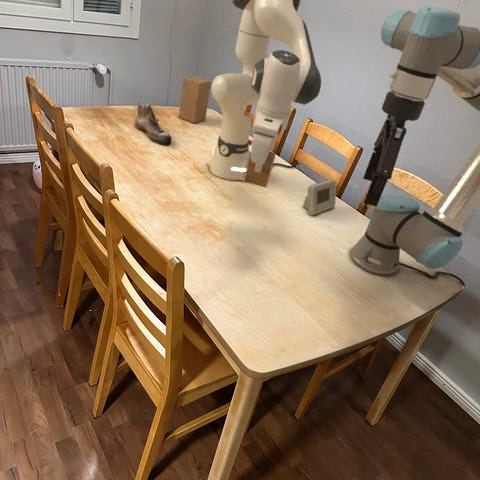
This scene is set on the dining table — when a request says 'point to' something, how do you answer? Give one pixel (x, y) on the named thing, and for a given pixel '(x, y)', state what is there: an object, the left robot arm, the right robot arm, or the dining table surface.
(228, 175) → the left robot arm
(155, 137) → the shoe
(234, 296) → the dining table surface
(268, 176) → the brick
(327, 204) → the digital clock
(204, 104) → the wooden block
